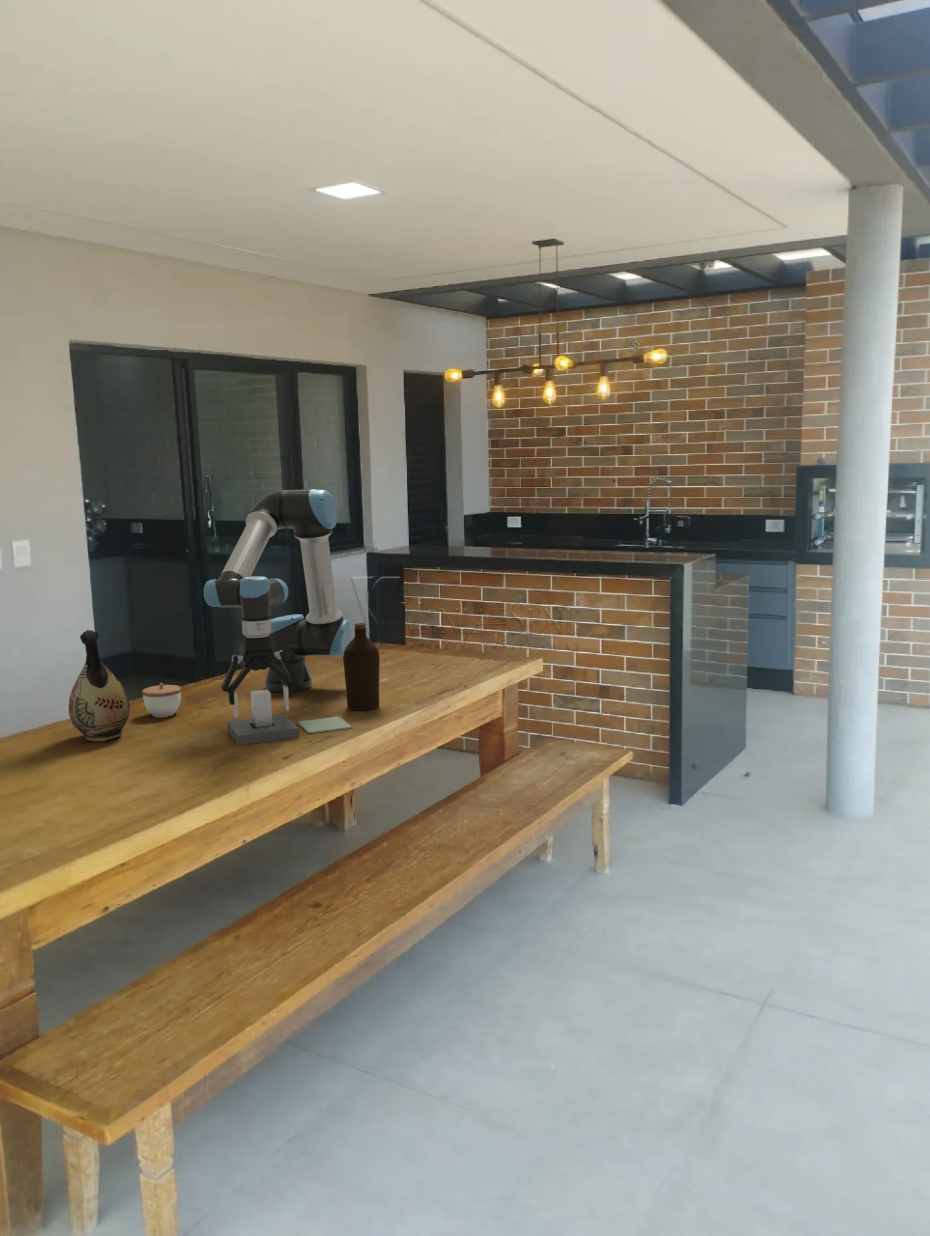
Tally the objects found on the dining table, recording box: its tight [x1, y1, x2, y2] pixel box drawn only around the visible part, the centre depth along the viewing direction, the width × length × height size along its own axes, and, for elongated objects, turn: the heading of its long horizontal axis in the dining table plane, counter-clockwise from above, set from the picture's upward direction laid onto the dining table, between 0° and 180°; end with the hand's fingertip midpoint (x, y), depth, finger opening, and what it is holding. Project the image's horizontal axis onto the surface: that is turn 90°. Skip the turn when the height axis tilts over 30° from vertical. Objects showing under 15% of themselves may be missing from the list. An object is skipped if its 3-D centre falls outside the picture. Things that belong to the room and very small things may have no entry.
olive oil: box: [342, 622, 381, 712], centre depth 294 cm, size 11×11×25 cm
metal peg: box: [250, 689, 273, 729], centre depth 269 cm, size 4×4×12 cm
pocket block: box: [226, 714, 300, 746], centre depth 270 cm, size 16×16×2 cm
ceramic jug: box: [68, 629, 131, 742], centre depth 267 cm, size 17×15×30 cm
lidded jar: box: [141, 682, 182, 718], centre depth 292 cm, size 11×11×9 cm
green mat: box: [297, 716, 353, 735], centre depth 276 cm, size 12×12×1 cm
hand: (261, 713), depth 269 cm, fingers open, 13 cm apart
